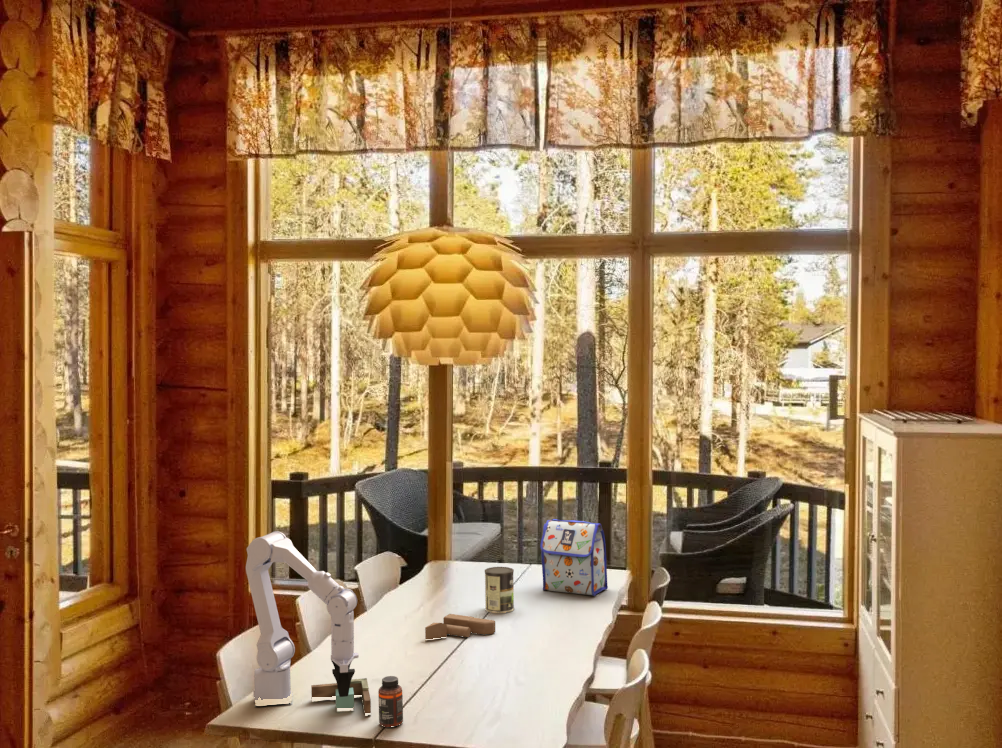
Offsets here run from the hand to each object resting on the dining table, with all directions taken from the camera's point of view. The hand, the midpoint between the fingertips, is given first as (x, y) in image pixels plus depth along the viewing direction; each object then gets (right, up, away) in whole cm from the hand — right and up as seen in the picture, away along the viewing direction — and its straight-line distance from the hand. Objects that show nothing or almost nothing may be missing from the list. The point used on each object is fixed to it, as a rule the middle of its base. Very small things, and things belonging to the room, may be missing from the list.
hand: (342, 690), depth 234 cm
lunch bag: (+68, -1, +111) cm, 131 cm away
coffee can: (+40, -2, +87) cm, 96 cm away
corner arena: (-1, -5, 0) cm, 5 cm away
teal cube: (0, -5, 0) cm, 5 cm away
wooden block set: (+27, -3, +58) cm, 64 cm away
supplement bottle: (+14, -5, -10) cm, 17 cm away
